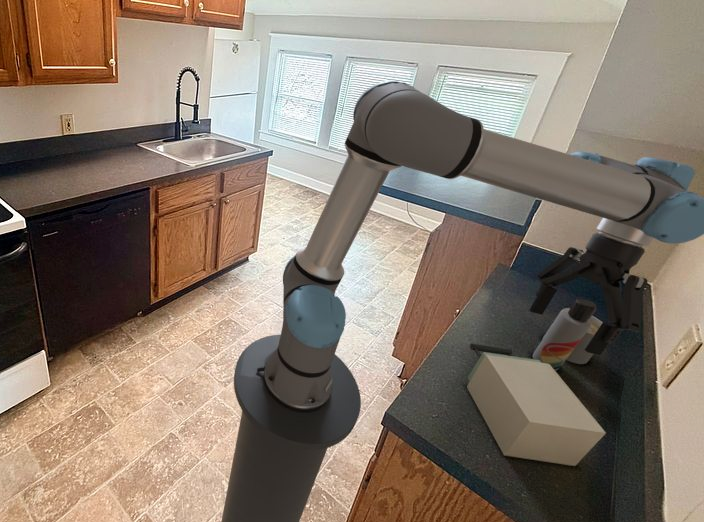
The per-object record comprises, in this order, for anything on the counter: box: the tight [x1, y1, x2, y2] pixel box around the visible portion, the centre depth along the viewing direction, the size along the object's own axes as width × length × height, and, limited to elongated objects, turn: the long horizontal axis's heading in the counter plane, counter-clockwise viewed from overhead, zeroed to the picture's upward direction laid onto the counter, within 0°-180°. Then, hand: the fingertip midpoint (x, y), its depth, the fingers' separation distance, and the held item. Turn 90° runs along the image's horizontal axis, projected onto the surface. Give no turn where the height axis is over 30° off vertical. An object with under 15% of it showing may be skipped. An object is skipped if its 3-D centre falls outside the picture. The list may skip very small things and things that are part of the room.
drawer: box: [467, 342, 541, 383], centre depth 83 cm, size 21×12×9 cm, turn 175°
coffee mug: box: [542, 307, 604, 365], centre depth 101 cm, size 13×10×10 cm
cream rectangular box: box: [466, 355, 607, 467], centre depth 78 cm, size 16×14×11 cm
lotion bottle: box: [532, 298, 598, 372], centre depth 92 cm, size 6×6×20 cm
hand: (561, 331), depth 79 cm, fingers open, 13 cm apart
